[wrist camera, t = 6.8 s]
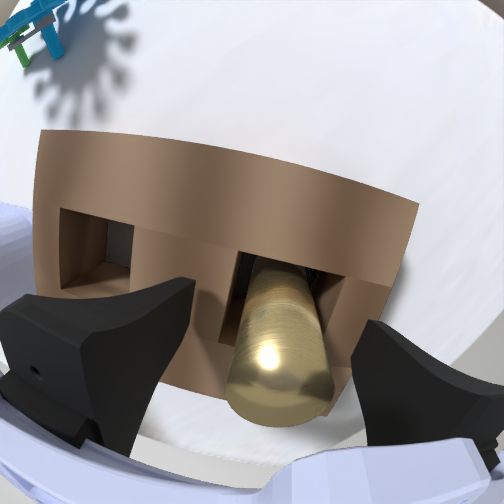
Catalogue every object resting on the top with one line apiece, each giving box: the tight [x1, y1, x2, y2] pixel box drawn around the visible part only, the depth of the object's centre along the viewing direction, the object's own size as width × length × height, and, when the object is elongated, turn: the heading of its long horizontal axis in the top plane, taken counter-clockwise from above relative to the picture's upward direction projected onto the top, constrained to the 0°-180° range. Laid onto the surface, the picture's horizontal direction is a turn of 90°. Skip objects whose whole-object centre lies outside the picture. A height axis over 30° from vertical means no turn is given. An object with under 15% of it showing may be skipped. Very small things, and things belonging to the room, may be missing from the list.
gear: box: [0, 0, 67, 68], centre depth 10 cm, size 11×6×10 cm
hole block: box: [32, 130, 419, 417], centre depth 14 cm, size 18×12×5 cm, turn 77°
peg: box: [225, 255, 335, 427], centre depth 12 cm, size 3×3×10 cm
